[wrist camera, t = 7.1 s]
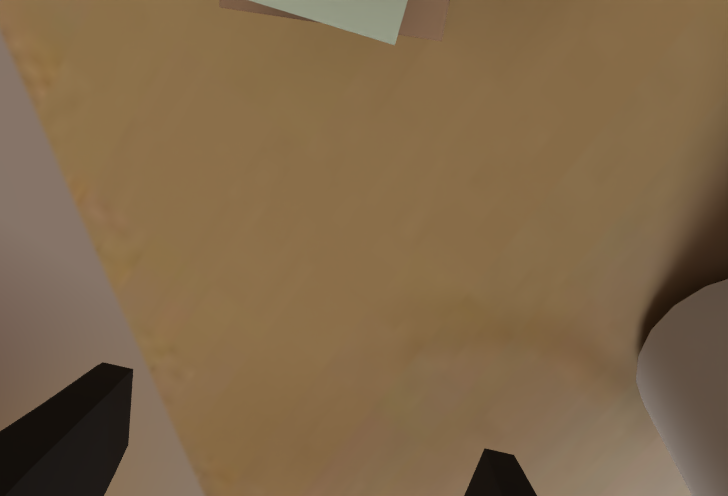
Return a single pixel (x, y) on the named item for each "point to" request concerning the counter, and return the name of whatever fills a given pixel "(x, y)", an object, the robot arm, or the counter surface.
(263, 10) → the walnut slab
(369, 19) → the green block
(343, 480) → the counter surface
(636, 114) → the counter surface
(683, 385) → the can
